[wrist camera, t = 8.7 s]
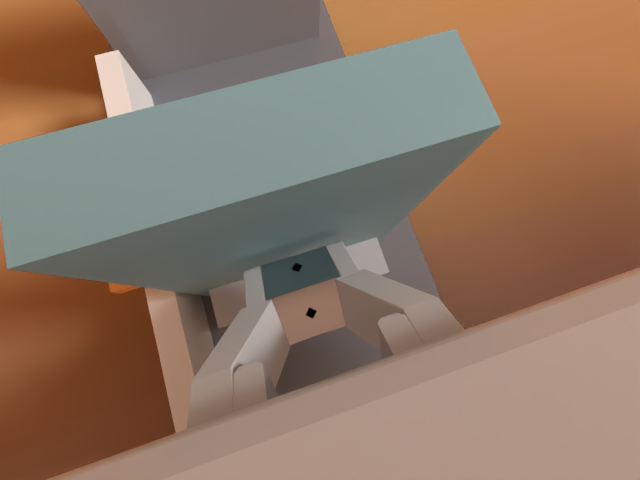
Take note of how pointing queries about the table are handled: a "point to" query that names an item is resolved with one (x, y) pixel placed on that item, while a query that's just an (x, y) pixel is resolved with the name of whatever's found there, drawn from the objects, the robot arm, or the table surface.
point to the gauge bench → (209, 75)
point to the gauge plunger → (245, 173)
